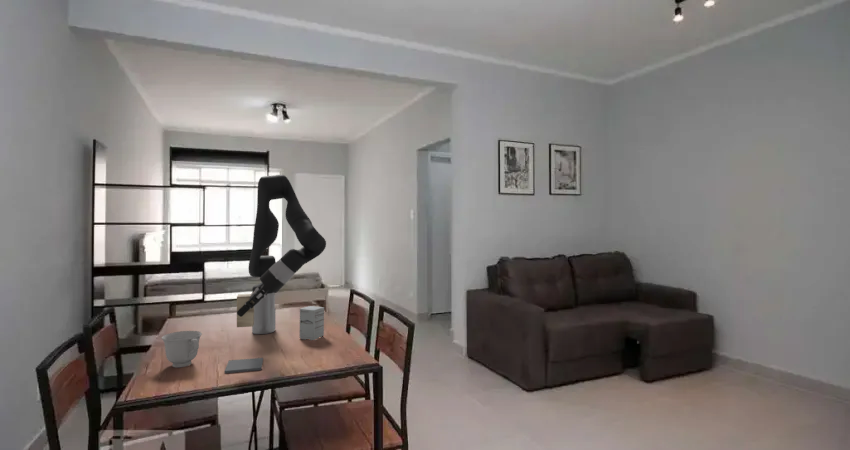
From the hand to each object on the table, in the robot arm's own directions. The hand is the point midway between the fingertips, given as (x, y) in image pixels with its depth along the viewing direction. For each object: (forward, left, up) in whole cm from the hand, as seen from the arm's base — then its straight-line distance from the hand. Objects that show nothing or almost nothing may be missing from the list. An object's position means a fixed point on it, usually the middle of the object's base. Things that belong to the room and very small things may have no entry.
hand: (239, 312), depth 147 cm
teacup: (+3, -19, -18) cm, 26 cm away
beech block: (-1, +2, -4) cm, 5 cm away
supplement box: (-39, +6, -18) cm, 43 cm away
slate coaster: (-1, +1, -18) cm, 18 cm away
